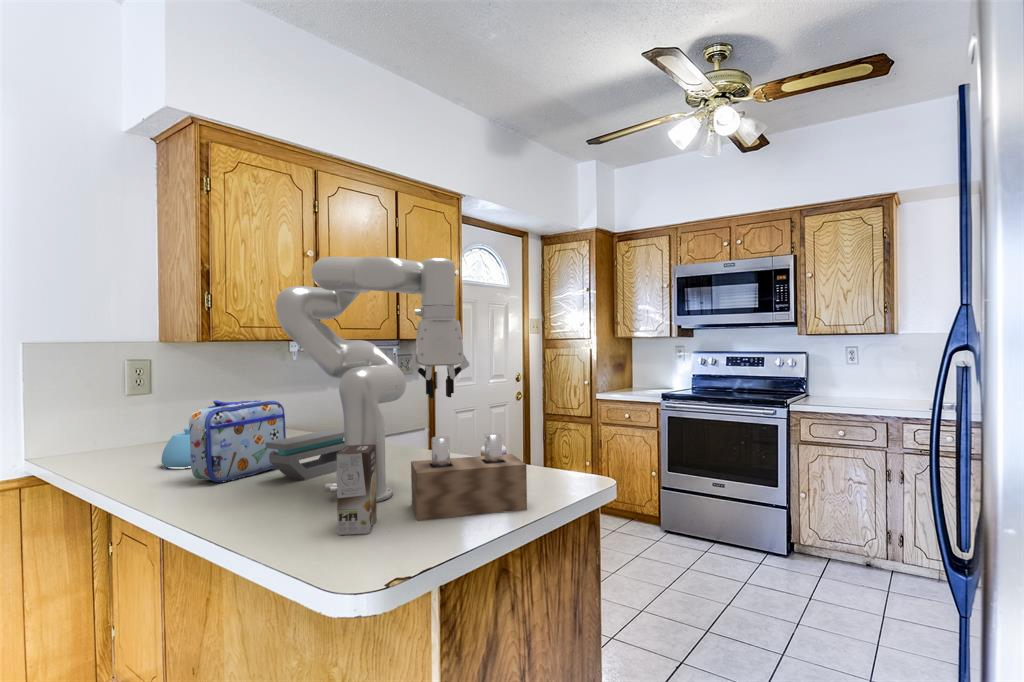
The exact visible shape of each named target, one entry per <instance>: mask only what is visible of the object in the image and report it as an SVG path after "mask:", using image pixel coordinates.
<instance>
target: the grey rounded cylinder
mask: <svg viewBox="0 0 1024 682" xmlns="http://www.w3.org/2000/svg"><path fill="white" fill-rule="evenodd" d="M450 439H451V438H450V436H445V435H442V436H441V435H440V436H433V437H431V460H432V468H438V467H450V458H451V442H450V441H451V440H450Z"/></svg>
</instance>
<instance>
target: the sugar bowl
mask: <svg viewBox="0 0 1024 682" xmlns="http://www.w3.org/2000/svg"><path fill="white" fill-rule="evenodd" d="M161 464H162V465H163V466H164V467H165V466H167V467H188V466H191V455H190V432H189V427H186V428H184V429H183V432H180V433H176V434H173V435H172V436H171V437H170V439H169V440H168V442H167V444H166V445H165V447H164V449H163V452H162V454H161Z"/></svg>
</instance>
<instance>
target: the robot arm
mask: <svg viewBox="0 0 1024 682" xmlns="http://www.w3.org/2000/svg"><path fill="white" fill-rule="evenodd" d="M310 274H311V279H312V280H313V282H314V283H315V284H316V286H317V287H316V286H307V285H296V286H289V287H287V288H284V289H282V290H281V291H280V292H279V293H278V294H277V297H276V299H275V314H276V317H277V321H278V323H279V325H280V327H281V329H282V331H283V332H284V333H285V334H286V335H287V337H289V338H290V339H291V340H292V341H293V342H295V343H296V345H298V346H299V347H300V348H302V350H303V351H304V352H305V353H306V355H308V356H309V357H310V359H312V360H313V362H315V364H317V366H318V367H319V368H321V370H322V371H323V372H324V373H325V374H326V375H328V376H329V377H331V378H335V379H340V380H339V383H338V392H339V397H340V401H341V406H342V413H343V415H342V417H343V429H344V438H343V441H344V447H346V446H348V445H374V444H375V445H376V496H377V503H379V502H382V501H385V500H387V499H389V498H391V497H392V495H393V489H392V488H391V487H388V486H387V485H386V483H387V482H386V480H387V479H386V478H387V477H386V476H387V475H386V474H387V473H386V427H385V419H384V416H383V413H382V411H381V409H380V406H379V404H385V403H391V402H395V401H397V400H399V399H400V398H401V397H403V395H404V394H405V392H406V389H407V381H406V377H405V374H404V373H403V371H402V370H401V369H400V368H399V365H397V364H396V363H395V362H393V360H392V359H390V358H389V356H387V355H386V354H385V352H384V351H382V350H381V349H380V348H379V347H378V346H376V345H375V344H374V343H373V342H370V341H367V340H362V339H361V340H360V339H344V338H342V337H340V335H338V334H337V333H335V331H334V330H332V328H331V327H329V326H328V325H327V324H325V323H323V322H322V321H320V320H325V321H326V320H327V321H328V320H333V319H336V318H337V317H340V315H342V314H343V313H344V311H346V310H347V309H348V307H349V306H350V305H351V304H352V303H353V302H354V300H356V299H357V297H358V296H359V295H360V294H361V293H365V294H366V293H369V292H370V291H375V292H376V291H377V292H389V293H399V294H400V293H401V294H410V295H421V297H420V298H421V299H420V300H421V301H420V302H421V306H420V307H419V308H417V309H414V316H418V317H420V319H421V320H418V322H417V329H416V339H415V341H416V342H415V354H414V355H413V358H412V359H411V361H410V362H409V364H408V368H409V369H411V370H413V371H415V372H417V373H418V374H420V376H421V377H423V378H424V380H425V395H428V398H429V399H433V398H434V397H435V394H434V393H435V391H434V390H435V389H434V388H435V387H434V385H435V384H434V380H433V376H432V373H433V367H435V366H436V367H440V366H444V367H445V366H446V370H447V371H446V372H447V376H446V379H445V397H447V398H452V394H454V392H455V388H454V387H455V384H454V383H455V382H454V381H455V379H456V377H457V376H458V375H459V374H460V373H461V371H463V370H465V369H467V368H468V367H470V363H469V361H468V360H467V358H466V356H465V354H464V343H463V334H462V328H461V322H460V320H456V318H457V315H456V267H455V262H454V261H453V260H452V259H449V258H444V257H443V258H442V257H431V258H426V259H424V260H423V261H421V262H420V261H416V260H411V259H410V260H409V259H405V258H398V257H390V256H389V257H388V256H386V257H385V256H324V257H321V258H319V259H317V261H315V262H314V263H313V265H312V267H311V271H310ZM419 365H420V366H419ZM421 366H424V368H422V367H421ZM325 492H330V493H337V482H325Z"/></svg>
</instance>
